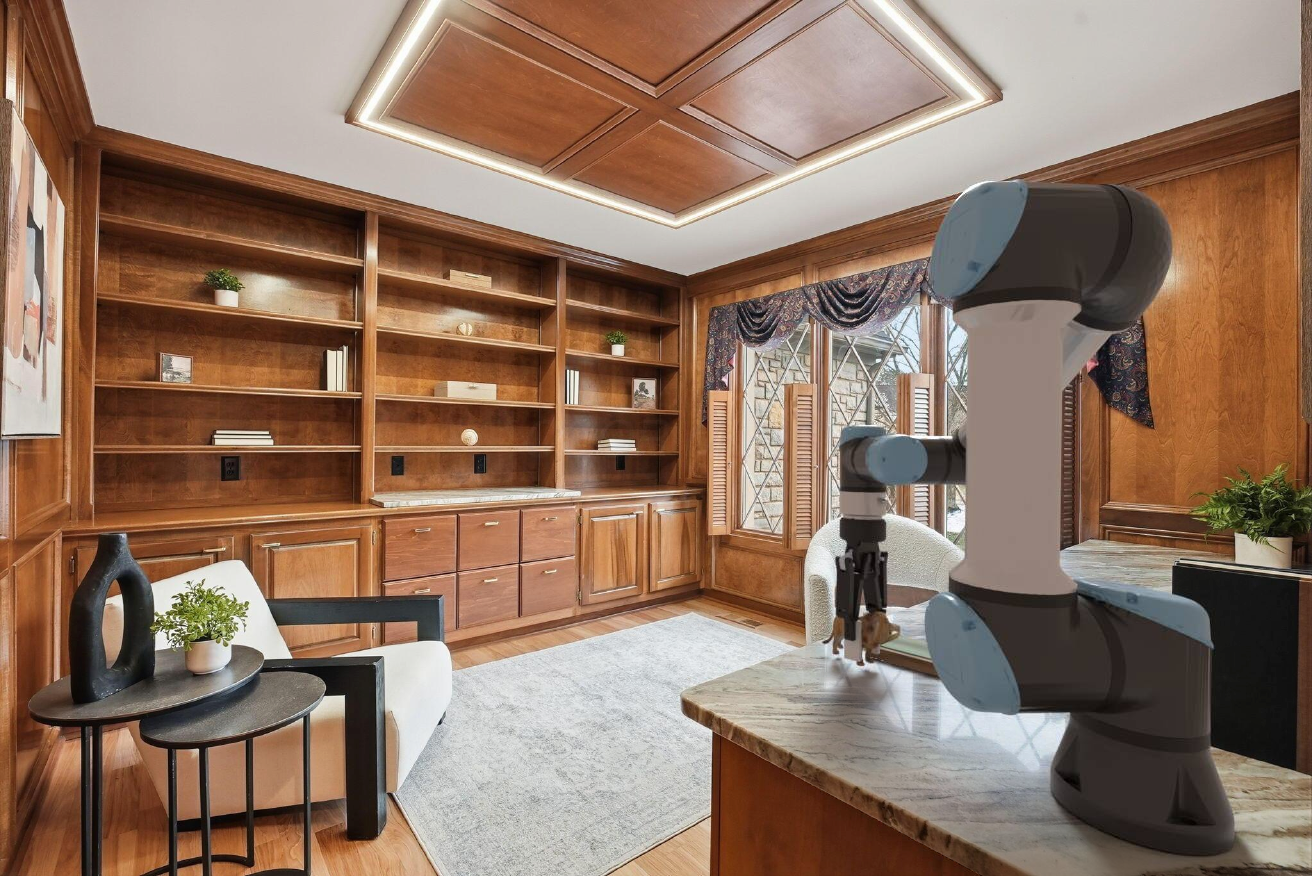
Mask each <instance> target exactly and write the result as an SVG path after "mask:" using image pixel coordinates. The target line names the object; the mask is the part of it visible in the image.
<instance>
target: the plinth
mask: <svg viewBox="0 0 1312 876" xmlns="http://www.w3.org/2000/svg"><path fill="white" fill-rule="evenodd" d="M870 657H873V658H872V659H874V658H877V659H879V660H878V661H881V660H883V661H882V662H885V663H888V662H889V663H888V664H892V665H895V664H897V665H896V666H899V665H901V666H900V667H903V668H906V667H908V668H907V669H909V670H913V669H914V670H915V671H918V672H922V673H925V674H929V675H932V676H936V677H939V676H938V673H937V671H936V669H935V667H934V665H933V662H932V660H931V657H930V653H929V650H928V646H927V641H926V642H925V641H922V640H917V639H912V638H909V637H904V636H901V635H900V636H898V632H896V631H894V632H892V634H891V637H889V636H888V639H887V640H886V641H884V642H883V643H881V644H880V654H874V653H871V655H870ZM877 659H876V660H877Z"/></svg>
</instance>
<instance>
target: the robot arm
mask: <svg viewBox="0 0 1312 876" xmlns="http://www.w3.org/2000/svg"><path fill="white" fill-rule="evenodd" d="M938 228H939V229H938V231H937V233H936V235H935V239H934V241H933V242H934V243H933V245H932V249H931V250H932V251H931V254H930V261H929V280H930V283H931V285H932V289H933V291H934V292H935V294H936V295H938V296H940V297H941V298H943V299H946V300H947V301H948V300H952V322H954V323H955V324H956V325H957V326H958V327H959V328H960V329H962V331H964V332H966V334H967V357H966V358H967V362H966V363H967V364H966V365H967V367H966V368H967V369H966V370H967V371H966V419H965V420H964V421H963V423H962V425H961V426H960V427H959V429H957V431H956V432H955V433H954V435H951V436H949V435H945V436H943V435H906V434H903V433H896V434H895V433H890V434H889V433H887V431H886V428H885V427H883V426H881V425H871V424H870V425H866V424H863V425H861V424H860V425H846V426H844V427H842V429H841V431H840V437H839V445H838V450H839V507H838V508H839V512H838V513H839V514H841V515H842V516H841V517H840V518H839V538H840V539H841V540H842V541H845V542H846V546H845V550H844V554H843V555H842V556H841V555H836V556H835V558H834V562H835V568H836V584H835V585H836V589H835V593H836V595H835V617H836V616H838V618H842V619H844V639H843V656H844V657H843V658H844V659H846V660H850V661H855V662H856V661H857V662H860V661H861V653H862V654H863V652H866V648H863V652H862V639H861V637H862V621H860V620H858V618H859V617H860V610H861V603H862V596H863V597H864V603H865V604H864V605H865V609H866V610H865V611H864V612H862V616H865V615H866V614H870V613H873V612H883V613H885V614H886V615H887V608H888V577H887V575H888V571H887V570H888V567H887V565H888V559H889V552H888V551H887V550H881V549H880V545H879V543H883V542H885V541H886V540H887V520H886V519H884V518H883V517H885V516H886V514H887V504H888V502H889V501H888V498H887V486H905V485H922V486H923V485H928V486H929V485H930V486H932V485H933V486H935V485H942V486H943V485H945V486H948V485H950V486H965V493H964V494H965V499H964V500H965V502H964V503H965V507H964V508H965V510H964V557H963V559H962V560H961V561H960V562H958V563H957V564H955V566H953V567H952V568H951V569H950V570H948V591H944V592H943V591H942V592H941V591H940V593H938V594H935V595H933V596H932V597H931V598H930V599H929V601H928V606H926V608H925V612H924V632H925V633H924V634H925V635H924V636H925V640H926V643H927V646H928V650H929V653H930V657H931V660H932V662H933V665H934V667H935V669H936V671H937V673H938V676H937V677H939V679H940V681H941V683H942V685H943V686H944V688H945V689H946V691H947V692H948V693H949V694H950V695H951V697H952V698H953V699H954V700H955V701H957V702H958V703H959V704H960V705H962V706H964V707H965V708H966V709H968V710H971V711H973V712H979V713H980V712H981V713H996V714H1002V715H1004V716H1005V715H1006V716H1015V715H1017V714H1021V715H1022V714H1055V713H1056V714H1068V713H1069V719H1068V723H1067V725H1066V728H1065V731H1064V733H1063V735H1062V737H1061V739H1060V742H1059V745H1058V746H1057V749H1056V751H1055V754H1054V756H1053V758H1052V760H1051V764H1050V769H1049V771H1050V776H1049V777H1050V780H1049V782H1050V783H1049V785H1050V791H1051V793H1052V796H1053V797H1054V798H1055V799H1056V800H1057V801H1058V803H1059V804H1061V806H1062V807H1064V808H1065V809H1066V811H1067V810H1068V811H1069V812H1070V813H1071V814H1073V815H1074V816H1076V817H1077V818H1079V819H1080V820H1082V821H1083V822H1085V823H1087V824H1090V825H1091V826H1093V827H1095V828H1097V829H1098V830H1101V831H1102V832H1105V833H1108V834H1110V835H1112V836H1115V837H1117V838H1118V839H1119V838H1120V839H1123V840H1125V841H1128V842H1131V843H1134V844H1138V845H1140V846H1144V847H1147V848H1151V849H1155V850H1160V851H1164V852H1168V853H1169V852H1170V853H1174V854H1183V855H1194V856H1207V855H1216V854H1221V853H1223V852H1226V851H1228V850H1230V849H1231V848H1232V847H1233V846H1234V844H1235V834H1236V833H1235V832H1236V831H1235V829H1236V828H1235V825H1236V824H1235V821H1236V820H1235V816H1234V812H1233V809H1232V805H1231V804H1230V800H1229V798H1228V795H1227V793H1226V790H1225V788H1224V784H1223V782H1222V779H1221V777H1220V774H1219V772H1218V769H1217V766H1216V763H1215V762H1214V759H1213V755H1212V751H1211V750H1212V749H1211V730H1212V729H1211V725H1212V723H1211V722H1212V721H1211V719H1212V717H1211V716H1212V714H1211V713H1212V669H1213V668H1212V665H1213V659H1212V658H1213V650H1214V649H1215V647H1214V644H1213V642H1212V639H1211V637H1212V636H1211V625H1210V624H1211V623H1210V617H1209V613H1208V612H1207V610H1206V609H1205V608H1204V606H1202V605H1201V604H1200V603H1198V602H1196V601H1194V600H1192V599H1190V598H1187V597H1185V596H1181V595H1177V594H1173V593H1169V592H1164V591H1161V590H1157V589H1152V588H1148V587H1143V586H1139V585H1133V584H1128V583H1123V582H1119V581H1118V582H1116V581H1113V580H1112V581H1111V580H1105V579H1101V578H1100V579H1099V578H1093V577H1075V578H1073V579H1072V578H1071V577H1070V576H1069V575H1068V574H1067V573H1066V572H1065V571H1064V570H1063V568H1062V567H1061V511H1062V509H1061V507H1062V506H1061V503H1062V502H1061V500H1062V499H1061V496H1062V438H1063V437H1062V436H1063V435H1062V432H1063V431H1062V429H1063V428H1062V425H1063V421H1062V419H1063V391H1064V390H1065V389H1066V388H1067V387H1068V386H1069V384H1070V383H1071V382H1072V381H1073V380H1074V379H1075V378H1076V376H1077V375H1078V374H1079V373H1080V372H1081V370H1082V369H1083V368H1084V367H1085V366H1086V364H1087V363H1088V362H1089V361H1090V360H1091V359H1092V358H1093V357H1094V355H1096V353H1097V352H1098V351H1099V350H1100V349H1101V347H1102V346H1103V345H1104V344H1105V343H1106V342H1107V340H1108V339H1109V338H1110V337H1111V336H1112V335H1113V334H1119V333H1120V334H1121V333H1123V332H1125V331H1127V330H1129V329H1131V327H1133V326H1134V324H1135V323H1136V322H1137V321H1138V320H1139V319H1140V318H1141V317H1142V316H1143V314H1144V313H1145V312H1146V311H1147V310H1148V308H1149V307H1150V306H1151V304H1152V303H1153V302H1154V300H1155V298H1156V297H1157V296H1158V293H1159V292H1160V291H1161V289H1162V286H1163V284H1164V283H1165V280H1166V277H1167V274H1168V271H1169V270H1170V266H1171V264H1172V263H1171V262H1172V258H1173V233H1172V229H1171V226H1170V223H1169V219H1168V218H1167V216H1166V214H1165V213H1164V211H1163V210H1162V209H1161V207H1160V206H1159V204H1157V202H1156V201H1155V200H1153V199H1152V198H1151V197H1150V196H1148V194H1145V193H1143V192H1142V191H1139V190H1138V189H1136V188H1132V187H1129V186H1125V185H1119V184H1114V183H1113V184H1111V183H1102V184H1085V183H1082V184H1081V183H1067V182H1066V183H1064V182H1063V183H1062V182H1044V181H1043V182H1042V181H1041V182H1040V181H1025V180H1024V179H1019V178H1018V179H1011V180H1009V181H1008V180H1007V181H983V182H979V183H977V184H974V185H972V186H970V187H969V188H967V189H966V190H965V191H964V192H963V193H961V195H959V196H958V198H957V199H955V201H954V202H953V203H952V205H951V206H950V208H948V210H947V212H946V214H945V216H944V218H943V220H942V222H941V224H940V226H939V227H938ZM871 653H874V654H880V644H879V646H878V647H877V648H875V649H872V652H871Z"/></svg>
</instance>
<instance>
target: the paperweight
mask: <svg viewBox="0 0 1312 876" xmlns="http://www.w3.org/2000/svg"><path fill="white" fill-rule="evenodd" d="M890 623H891V624H892V625H894V626H895V628H894V631H896V632H898V636H901V625H899V624H897V623H893V622H890Z"/></svg>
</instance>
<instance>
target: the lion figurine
mask: <svg viewBox="0 0 1312 876" xmlns="http://www.w3.org/2000/svg"><path fill="white" fill-rule="evenodd" d="M858 620H860V621H862V637H861V639H862V653H861V661H860V662H857V661H855V663H856V665H857V666H859V667H864V666H865V663H864V661H865V662H866V663H867V664H871V665H872V664H874V663H875V660H874V658H870V655H871V652H872V649H875V648H877V647H878V646H879V644H881V643H883V642H884V641H886V640H887V639H888V636H889V637H891V634H892V632H894V628H895V626H894V625H892V624H891V623H892V622H890V621H889V618H888V617H887V613H886V614H885V613H883V612H873V613H870V614H866V615H865V616H863V615H861V616H859V618H858ZM832 640H833V641H832ZM831 641H832V654H833V655H835V656H836V655H840V651H839V650H838V649H840V650H841V649H842V650H844V644H842V641H844V619H842V618H838V616H836V615H835V617H834V618H833V622H832V631H831V634H830V636H829V637H828V638H827V639H824V640H823V641H821V643H822V644H823V645H827V644H829V643H830V642H831ZM863 648H866V651H863ZM863 652H865V653H864V659H863Z"/></svg>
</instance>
